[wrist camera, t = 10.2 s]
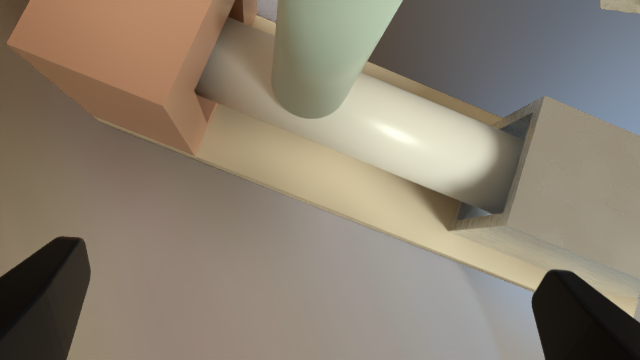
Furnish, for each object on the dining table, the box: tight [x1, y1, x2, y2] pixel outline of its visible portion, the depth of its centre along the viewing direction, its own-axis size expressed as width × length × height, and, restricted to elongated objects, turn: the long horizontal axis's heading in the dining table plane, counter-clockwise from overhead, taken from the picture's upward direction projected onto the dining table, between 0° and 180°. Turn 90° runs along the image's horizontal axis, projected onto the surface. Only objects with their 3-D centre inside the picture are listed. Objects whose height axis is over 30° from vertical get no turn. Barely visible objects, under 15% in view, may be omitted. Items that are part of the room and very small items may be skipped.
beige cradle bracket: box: [194, 0, 525, 214], centre depth 15 cm, size 3×15×12 cm, turn 69°
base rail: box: [95, 15, 638, 318], centre depth 22 cm, size 7×26×1 cm, turn 69°
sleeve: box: [448, 96, 640, 298], centre depth 19 cm, size 5×8×5 cm, turn 69°
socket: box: [6, 0, 257, 156], centre depth 17 cm, size 7×4×7 cm, turn 159°
